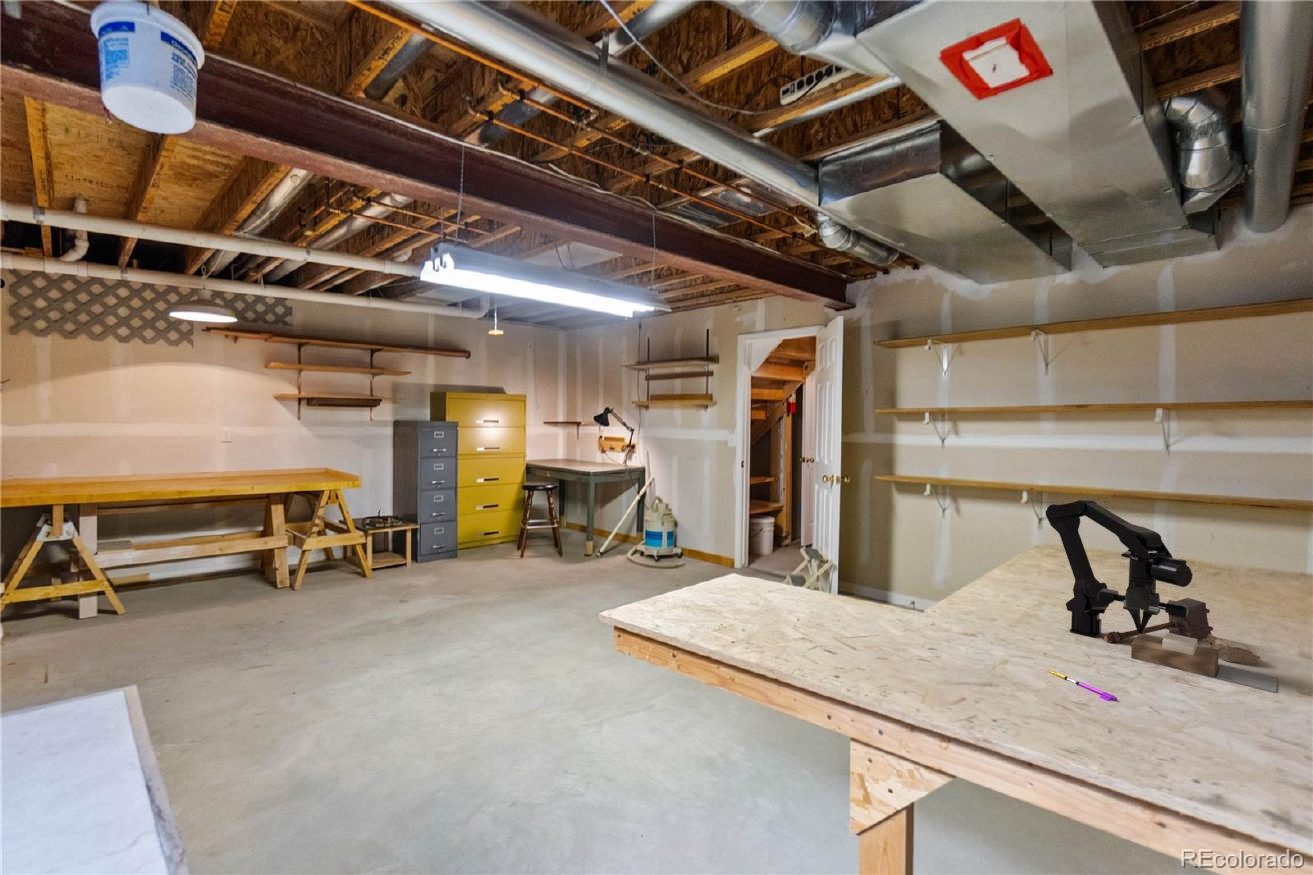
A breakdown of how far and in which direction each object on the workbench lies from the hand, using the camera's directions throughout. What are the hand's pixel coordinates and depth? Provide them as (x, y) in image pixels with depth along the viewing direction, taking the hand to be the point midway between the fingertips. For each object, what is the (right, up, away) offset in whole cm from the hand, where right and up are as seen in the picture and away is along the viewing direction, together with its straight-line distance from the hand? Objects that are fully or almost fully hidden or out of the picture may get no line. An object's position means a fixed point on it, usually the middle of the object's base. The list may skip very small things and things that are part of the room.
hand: (1140, 633), depth 158 cm
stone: (+22, -6, -2) cm, 23 cm away
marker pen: (-32, -6, -21) cm, 39 cm away
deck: (+5, -6, -5) cm, 9 cm away
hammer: (+13, -6, +11) cm, 18 cm away
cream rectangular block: (+5, -2, -6) cm, 8 cm away
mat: (+14, -6, -15) cm, 21 cm away
